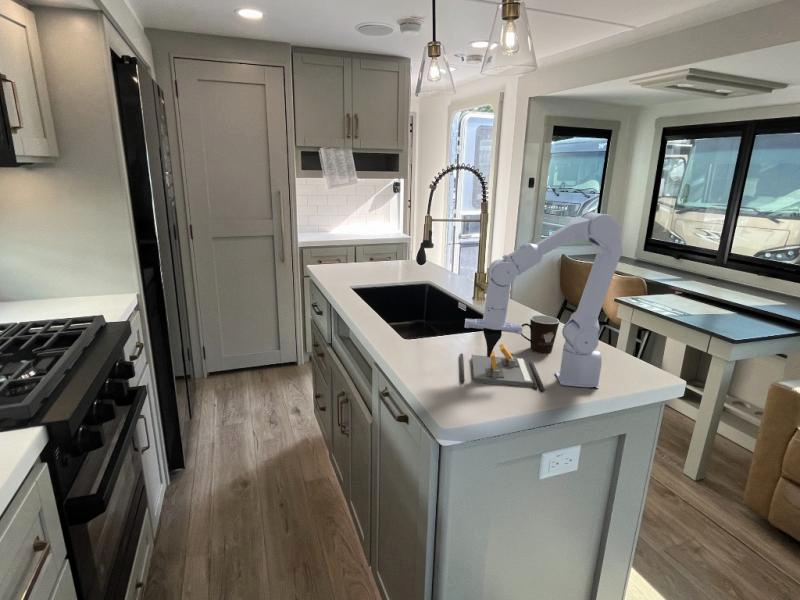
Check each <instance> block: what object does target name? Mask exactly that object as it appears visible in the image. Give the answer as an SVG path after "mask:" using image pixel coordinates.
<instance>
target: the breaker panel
mask: <svg viewBox="0 0 800 600" xmlns="http://www.w3.org/2000/svg"><path fill="white" fill-rule="evenodd" d="M510 354H511V355H512V358H513V360H512V359H509V361H508V360H507V358H506V357H505V356H504V357H503V356H495V359H496V364H497V369H498V370H493V368H492V363H491V358H490V357H487V355H480V354H479V355H477V354H472V355H471V363H472V364H471V365H472V375H473V383H480V384H482V383H483V384H492V385H493V384H494V385H503V386H504V385H505V386H517V387H529V388H534V387H533V380H532V378H531V375H530V372H529V370H528V367H527V365H526V362H525V361H526V359H525V358H517V357H513V352H510Z"/></svg>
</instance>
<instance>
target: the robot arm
mask: <svg viewBox="0 0 800 600" xmlns="http://www.w3.org/2000/svg"><path fill="white" fill-rule="evenodd" d="M621 228H622V227H621V226H620V225H619V223H618V221H617V220H616V219H615V218H614V216H612V215H609V214H605V213H603V214H602V213H598V212H595V211H587V212H584V213H583V214H581V215H580V216H577V217H574V218H573V219H571V221H569V222H567V223H565V224H564V225H563V226H561V227H560V228H558V229H556V231H554V232H552V233H551V234H549V235H548V236H546V237H544V238H543V239H541V240H540V241H538V242H537V243H531V242H528V243H526V244H525V243H521V244H520V245H518V249H516V250H514V251H513V252H512V251H511V253H508V254H504V255H502V259H501V258H500V259H499V258H498V259H495V260H494V261H492V262H491V263H490V265H489V267H488V268H487V274H488V276H489V279H488V286H487V288H486V289H487V290H486V295H485V301H484V310H483V317H482V318H481V319H480V318H474V319H473V318H465V319H464V320H465V321H464V329H465V328H466V329H470V328H472V329H480V330H482V331H483V336H484V340H485V343H486V356H487V357H490V355H491V353H492V351H494V348H495V346H496V345H497V343H498V342H499V341H500V339H501V338H502V336H503V334H502V332H504V333H511V334H512V333H513V334H517V335H521V334H523V327H522V326H521V325H522V324H515V323H511V322H506V321H507V319H506V318H507V314H508V307H509V301H510V294H511V285H512V284H513V283H514V282H515V280H516V278H517V276H520V275H522V274H523V273H525V272H527V271H528V270H530V269H532V268H534V267H535V266H537V265H538V264H541V262H542V261H543V259H542V258H543V257H544V256H545V255H546V254H548V253H550V252H552V251H553V250H556V249H558V248H560V247H562V246H564V245H565V244H567V243H569V242H571V241H574V240H577V241H579V240H581V241H582V240H584V241H589V242H590V244H591V245H592V247H593V248H594V251H596V255H595V258H594V261H593V263H592V266H591V268H590V272H589V273H588V278H587V281H586V283H585V285H584V286H585V287H584V289H583V292H582V295H581V297H580V300H579V302H578V303H579V304H578V305H577V309H576V311H574V312H572V314H571V315H570V318H569V319H568V321H567V322H566V323H565V324H564V325H563V328H562V329H561V330H562V331H561V333H562V337H563V338H564V339H565V342H564V344H563V346H562V355H561V361H560V362H561V363H560V369H559V371H555V372H554V373H555V376H556V378H557V379H558V381H559V383H560V385H561V386H565V387H566V386H568V387H569V386H570V387H581V388H590V387H599V388H600V386H599V382H600V375H601V371H602V370H601V368H602V354H601V352H600V351H599V350H596V349H597V348H598V346H599V332H600V323H599V316H600V313H601V311H602V308H603V305H604V302H605V300H606V296H607V294H608V291H609V288H610V286H611V283H612V281H613V277H614V274H615V272H616V269H617V267H618V264H619V261H620V258H621V255H622V253H623V247H622V240H621V235H620V231H621V230H622V229H621Z"/></svg>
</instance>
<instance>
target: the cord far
mask: <svg viewBox="0 0 800 600" xmlns="http://www.w3.org/2000/svg"><path fill="white" fill-rule="evenodd" d="M464 365H465V363H464V354H463V353H461V352H460V354H459V367H460V368H459V369H460V373H459V375H460V383H462V384H464V383H465V381H466V380H465V379H466V378H465V366H464Z"/></svg>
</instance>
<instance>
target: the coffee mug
mask: <svg viewBox="0 0 800 600" xmlns="http://www.w3.org/2000/svg"><path fill="white" fill-rule="evenodd" d="M529 319H530V320H529V321H530V322H529V323H530V324H529V323H522V324H520V325H521V326H522V328H523V327H525V326H528V327H529V329H530V330H529V331H530V334H529V335H530V338H528V337H527V336H525V335H524V334H523V333H522V334H520V335H521V336H522V338H524V339H525V340H527V341H529V343H530V350H531V351H532V352H534V353H538V354H541V355H542V354H543V355H544V354H545V355H548V354H552V352H553V348H554V344H555V340H556V337H557V332H558V328H559V325H560V320H559V319H558V318H556V317H553V316H550V315H540V314H539V315H538V314H537V315H532V316H530V317H529Z"/></svg>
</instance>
